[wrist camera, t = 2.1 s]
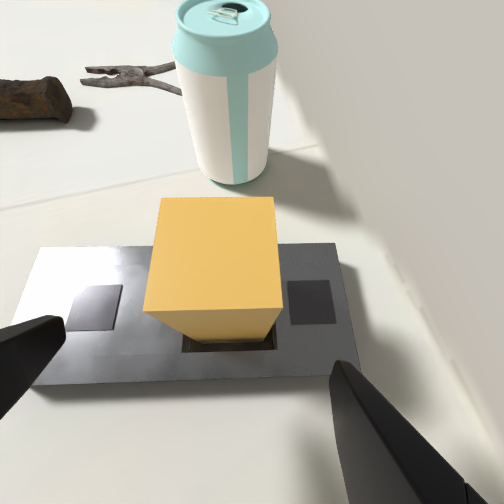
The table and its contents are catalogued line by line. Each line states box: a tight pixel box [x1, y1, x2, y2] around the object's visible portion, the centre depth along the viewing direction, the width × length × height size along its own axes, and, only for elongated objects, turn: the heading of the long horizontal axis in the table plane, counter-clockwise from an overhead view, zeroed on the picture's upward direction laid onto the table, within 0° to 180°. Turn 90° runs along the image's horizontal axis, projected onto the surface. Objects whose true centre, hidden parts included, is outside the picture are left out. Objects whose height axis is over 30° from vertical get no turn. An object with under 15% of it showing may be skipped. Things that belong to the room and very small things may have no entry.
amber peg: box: [143, 197, 283, 343], centre depth 14 cm, size 4×4×11 cm
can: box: [172, 0, 278, 184], centre depth 20 cm, size 7×7×12 cm
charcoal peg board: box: [11, 243, 361, 385], centre depth 17 cm, size 9×22×3 cm, turn 92°
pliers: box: [80, 61, 183, 96], centre depth 31 cm, size 10×1×20 cm
